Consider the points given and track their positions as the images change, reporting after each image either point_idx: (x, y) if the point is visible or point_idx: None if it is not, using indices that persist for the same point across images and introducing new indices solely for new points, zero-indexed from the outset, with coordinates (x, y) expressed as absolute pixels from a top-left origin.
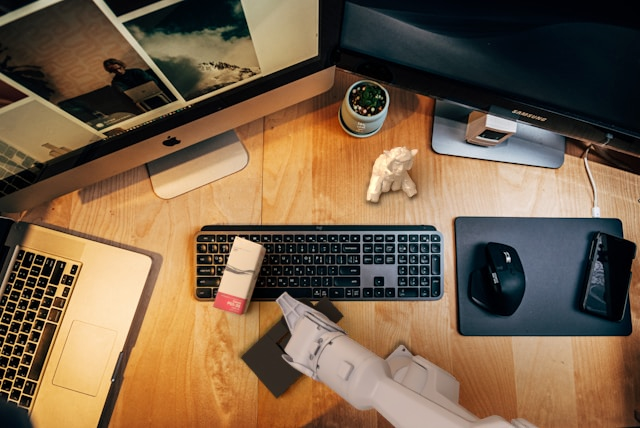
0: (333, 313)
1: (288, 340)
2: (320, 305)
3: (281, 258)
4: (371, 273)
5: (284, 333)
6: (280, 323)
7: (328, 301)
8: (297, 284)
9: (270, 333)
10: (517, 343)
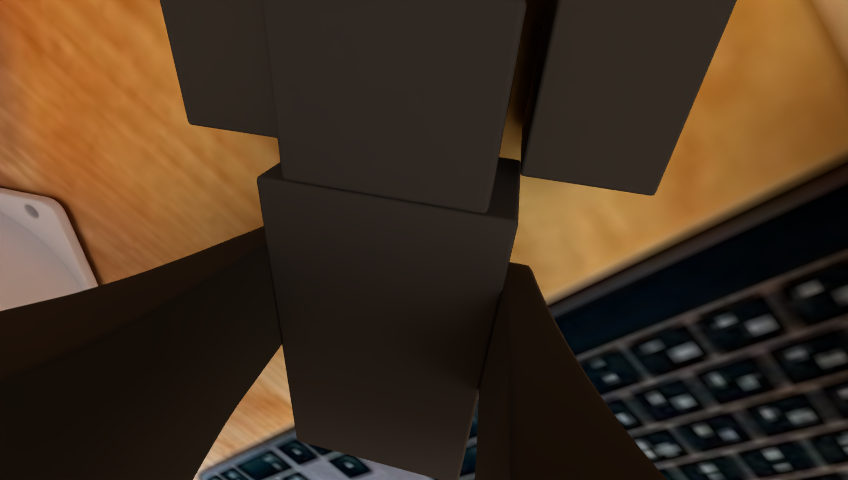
0: (348, 434)
1: (461, 119)
2: (442, 444)
3: (815, 412)
4: (387, 476)
5: (544, 121)
6: (638, 170)
7: (421, 469)
8: (638, 348)
9: (693, 9)
10: None
